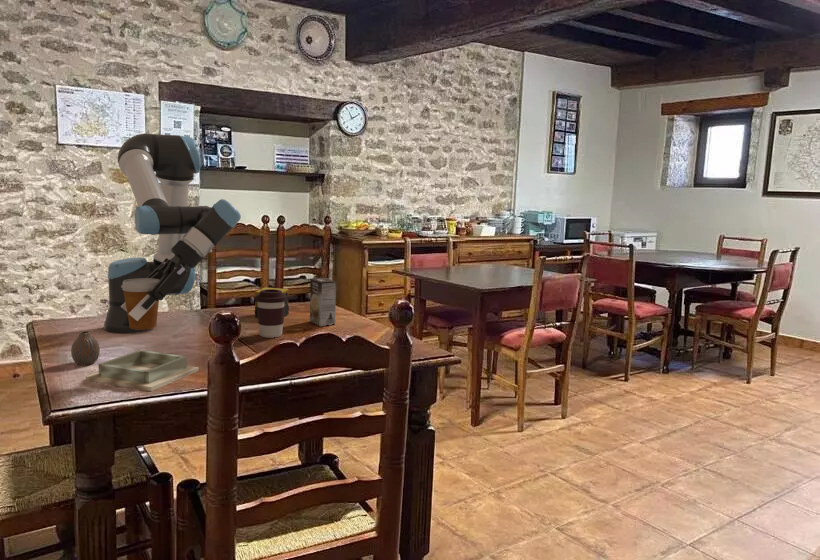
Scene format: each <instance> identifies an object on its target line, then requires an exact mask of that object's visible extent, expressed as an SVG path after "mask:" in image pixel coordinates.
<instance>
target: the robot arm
mask: <svg viewBox="0 0 820 560" xmlns="http://www.w3.org/2000/svg"><path fill="white" fill-rule="evenodd" d="M117 163H118V167H119V169H120V171H121V172H122V174H123V175H125V176H126V178H127V180H128V183H129V186H130V188H131V191H132V194H133V195H134V199H135V203H136V205H137V207H135V210H134V224H135V230H136V232H137V233H138V234H140V235H151V236H154V235H155V236H156V235H158V251H156V252H155V253H154V254H153V257H152V258H153V259H152V261H148V260H147V259H146V258H145V257H140V256H139V257H129V258H122V259H117V260H115V261H112V262H110V263H109V265H108V268H107V280H108V303H109V305H108V310H107V312H106V313H107V314H106V318H105V321H104V323H103V328H104V329H103V330H104V331H105V332H107V333H111V334H120V335H121V334H138V333H144V332H148V331H151V330H152V329H154V328H151V329H145V330H135V329H131V328H130V326H129V320H128V314H127V309H126V303H125V297H124V291H123V290H122V288H121V286H122V284H123V281H124V280H128V279H136V278H153V279H158V280H160V281H159V282H158V283H157V285H156V286H155V287H154V289H153V290H152V291H148V292H147V293H148V294H149V295H150V296H149V295H148V294H147V295H146V296H145V297H144V298H143V299H142V300H141V301H140V302H139V303H138V304H137V305H136V306H135V307H134V308H133V309H132V310H131V311H130V312H129V315H130V316H132V317H133V318H134V319H135V320H137V321H138V320H139V319H140V318H141V317H142V316H143V315H144V314H145V313H146V312H147V311H148V310H149V309H150V308H151V307H152V306H153V305H154V304H155V302H156V301H159V302H160V301H163V300H164V299H165V298H166V296H179V295H185V294H188V293H190V292H191V291H192V289H193V288H194V284H195V280H196V267H197V266H198V264H199V263H200V262H201V261H202V260H203V259H202V258H204V257H206V256H207V255H208V254H209V253H210V254H211V253H213V249H214V248H215V246H216V245H218V243H220V242H221V241H222V239H224V237H226V235H227V234H228V233H229V232H230V231H231V230H232V229H233V228H235V227H236V225H237V224H238V223H239V222H240V220H241V219H242V215H241V212H240V211H239V210H238V209H237V208H236V207H235V206H234V205H233V204H232V203H231V202H229V201H228V200H226V199H223V198H221V199H218V201H216V203H214V204H213V205H212V206H211V207H210V206H208V205H198V206H189V205H188V203H189V202H188V201H189V185H190V183H192V182H193V181H194V178H195V177H194V176H195V175H197V174H198V173H200V172H201V168H202V167H201V166H202V164H201V153H200V149H199V146H198V143H197V142H196V139H194V138H193V137H191V136H185V135H177V134H156V133H155V134H154V133H145V132H144V133H138V134H136V135H134V136H131V137H130V138H128V139H127V140H126V141H124V143H123V144H122V145H121V147H120V148H119V151H118V152H117Z"/></svg>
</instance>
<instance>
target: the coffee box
mask: <svg viewBox="0 0 820 560" xmlns="http://www.w3.org/2000/svg"><path fill="white" fill-rule="evenodd" d="M309 280H310V288H309V289H310V290H309V291H310V293H309V297H310V298H309V299H310V301H309V321H310V322H311V323H312V324H314V325H316V324H317V325H316V326H318V325H319V327H326V325H329V326H333V325H332V324H335V325H336V308H337V307H336V306H337V305H336V304H337V303H336V301H337V300H336V299H337V281H336V280H334V279H330V278H328V277H315V278H310V279H309Z"/></svg>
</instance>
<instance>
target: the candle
mask: <svg viewBox="0 0 820 560" xmlns="http://www.w3.org/2000/svg"><path fill="white" fill-rule="evenodd" d="M266 289H276V290H281V291H282V293H283V294H284V295H286V301H285V302H284V306H285V311H284V318H285V317H286V316H289V313H290V312H289V310H290V306H289V298H290V297H289V291H290V290H289V289H288V288H278V287H263V288H261V289H259V290H256V291H255V294H254V295H255V296H256V295H258V294H260V291H261V290H266ZM255 296H254V297H255ZM257 306H258V303H257V301H256V300H255V304H254V317H255V318H256V319H258V313H257Z"/></svg>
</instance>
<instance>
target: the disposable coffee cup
mask: <svg viewBox="0 0 820 560" xmlns="http://www.w3.org/2000/svg"><path fill="white" fill-rule="evenodd" d="M159 281H160V280H158V279H153V278H136V279H128V280H124V281H123V284H122V286H121V288H122V290H123V291H124V297H125V303H126V309H127V314H128V320H129V326H130V328H131V329H135V330H145V329H151V328H153V329H155V328H156V327H157V324H158V323H157V322H158V315H159V314H158V313H159V303H160V300H159V301H156V302H155V304H154V305H153V306H152V307H151V308H150V309H149V310H148V311H147V312H146V313H145V314H144V315H143V316H142V317H141V318H140V319H139V320H138V321H137V320H135V319H134V318H133V317H132V316H130V315H129V312H130V311H131V310H132V309H133V308H134V307H135V306H136V305H137V304H138V303H139V302H140V301H141V300H142V299H143V298H144V297H145V296H146V295H147V294H148V293H147V292H148V291H152V290H153V289H154V287H155V286H156V285H157V283H158V282H159ZM148 295H149V294H148ZM149 296H150V295H149ZM151 330H152V329H151Z"/></svg>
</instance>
